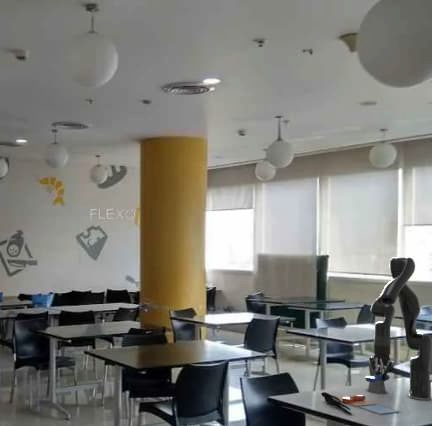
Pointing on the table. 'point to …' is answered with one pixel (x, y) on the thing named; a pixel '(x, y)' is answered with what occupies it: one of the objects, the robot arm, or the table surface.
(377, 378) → the blue spoon
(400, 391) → the table surface
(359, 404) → the terracotta mat
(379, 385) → the coffeepot
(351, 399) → the terracotta spoon
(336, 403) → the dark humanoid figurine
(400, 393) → the table surface
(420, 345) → the robot arm
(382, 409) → the blue mat
